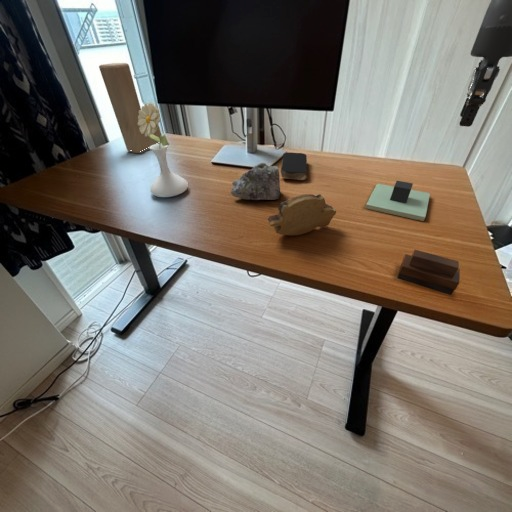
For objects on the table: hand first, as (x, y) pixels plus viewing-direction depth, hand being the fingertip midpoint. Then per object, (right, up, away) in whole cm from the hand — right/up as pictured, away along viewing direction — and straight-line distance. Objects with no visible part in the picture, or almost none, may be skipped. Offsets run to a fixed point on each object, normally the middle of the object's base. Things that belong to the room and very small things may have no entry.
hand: (464, 121), depth 59 cm
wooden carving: (-35, -24, +6) cm, 43 cm away
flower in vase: (-72, -10, +24) cm, 76 cm away
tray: (-7, -15, +14) cm, 22 cm away
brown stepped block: (-14, -34, -8) cm, 38 cm away
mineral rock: (-45, -12, +20) cm, 51 cm away
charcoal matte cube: (-7, -14, +14) cm, 21 cm away
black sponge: (-33, -1, +33) cm, 47 cm away
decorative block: (-94, +17, +58) cm, 111 cm away
